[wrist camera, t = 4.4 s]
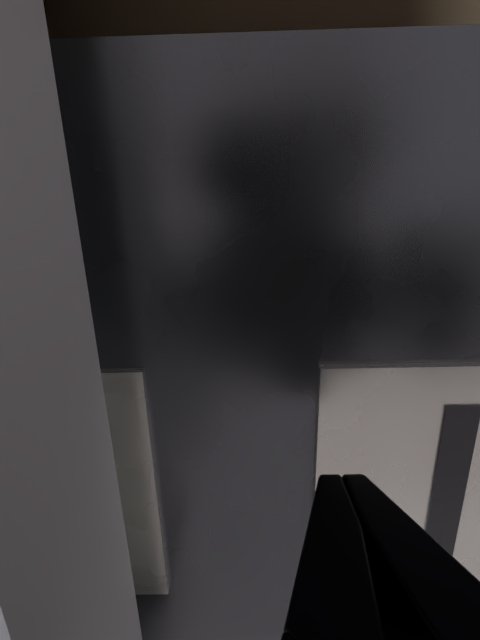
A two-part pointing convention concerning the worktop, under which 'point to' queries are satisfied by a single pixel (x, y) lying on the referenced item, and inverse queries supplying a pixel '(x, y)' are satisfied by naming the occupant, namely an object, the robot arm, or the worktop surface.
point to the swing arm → (50, 377)
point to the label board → (277, 295)
